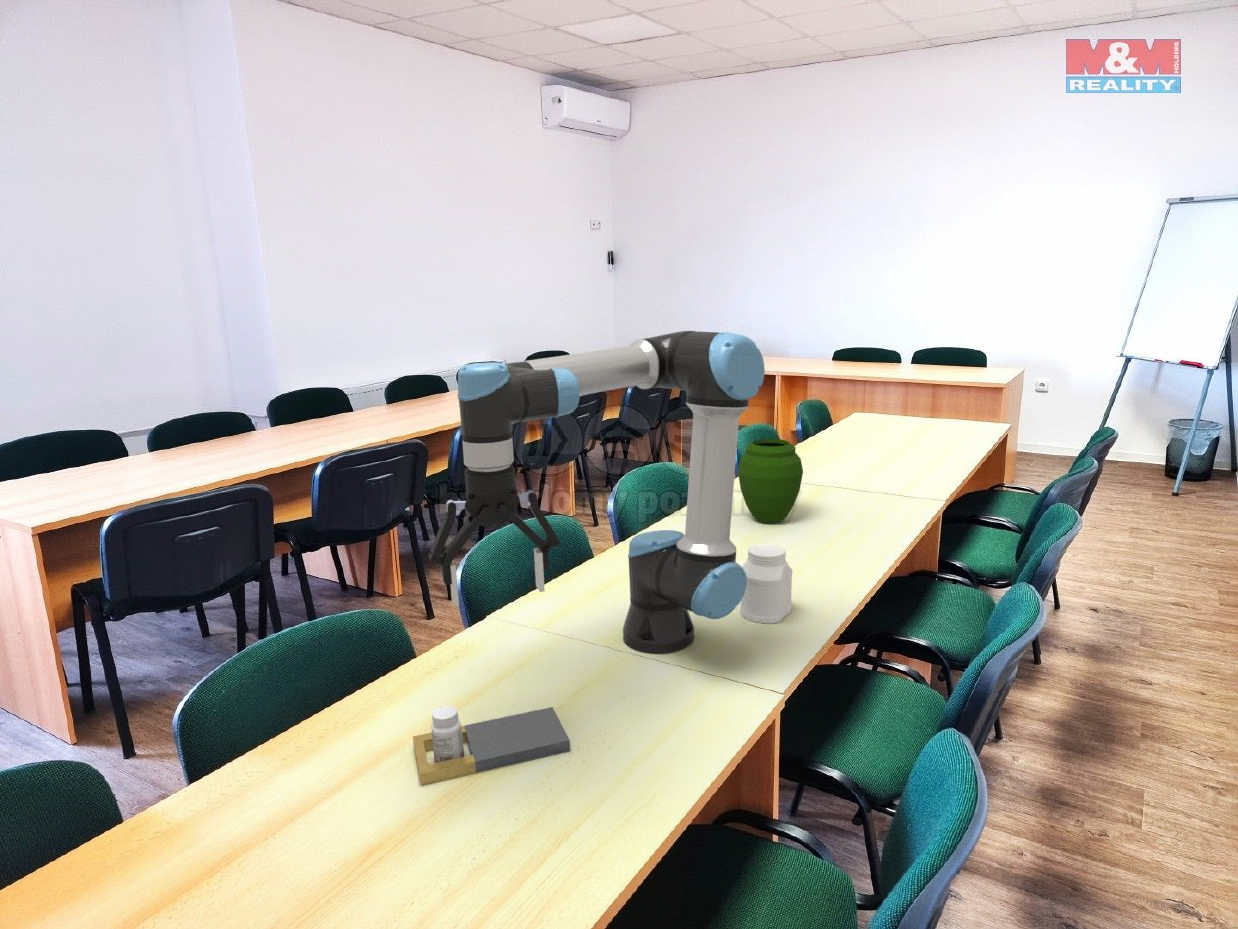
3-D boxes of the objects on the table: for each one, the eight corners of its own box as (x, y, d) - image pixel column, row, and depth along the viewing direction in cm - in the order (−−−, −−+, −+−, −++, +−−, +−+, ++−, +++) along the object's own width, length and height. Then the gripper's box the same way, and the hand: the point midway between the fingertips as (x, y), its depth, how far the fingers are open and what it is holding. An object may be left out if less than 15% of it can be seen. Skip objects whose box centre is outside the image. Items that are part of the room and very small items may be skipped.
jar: (774, 627, 173) (775, 562, 169) (734, 617, 178) (735, 554, 175) (795, 608, 182) (797, 546, 178) (757, 599, 187) (758, 539, 184)
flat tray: (552, 717, 141) (552, 706, 140) (570, 751, 131) (569, 740, 130) (413, 747, 133) (412, 736, 132) (420, 785, 123) (419, 774, 122)
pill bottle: (451, 746, 133) (447, 701, 131) (470, 756, 130) (466, 710, 128) (428, 760, 129) (423, 713, 127) (447, 771, 126) (442, 723, 124)
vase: (765, 506, 259) (766, 433, 253) (815, 519, 244) (817, 442, 238) (724, 519, 247) (724, 443, 241) (773, 534, 232) (775, 453, 226)
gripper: (561, 452, 129) (567, 575, 134) (402, 469, 121) (415, 599, 126) (574, 462, 122) (580, 591, 127) (407, 480, 114) (420, 618, 119)
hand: (498, 595), depth 126 cm, fingers open, 13 cm apart
